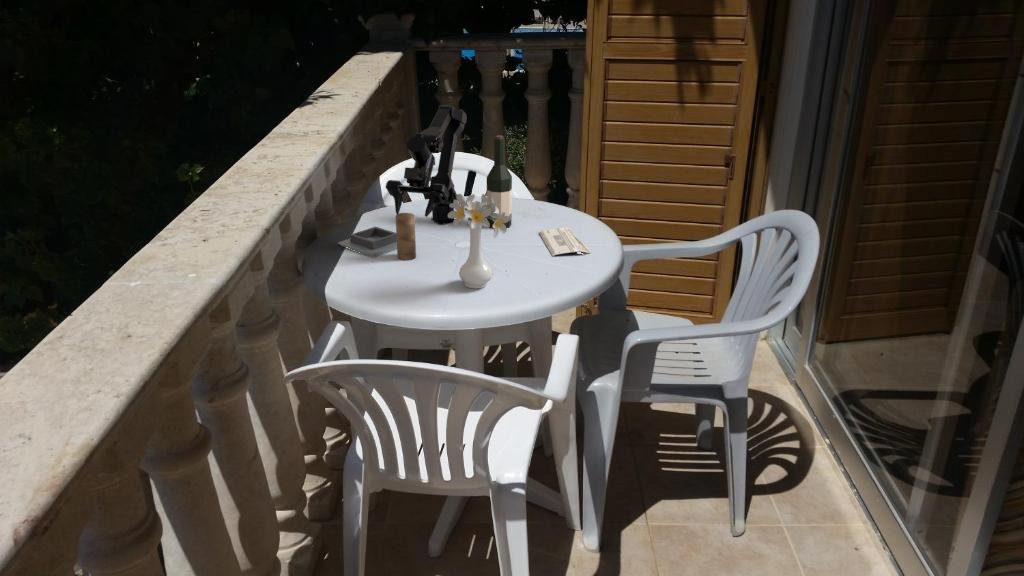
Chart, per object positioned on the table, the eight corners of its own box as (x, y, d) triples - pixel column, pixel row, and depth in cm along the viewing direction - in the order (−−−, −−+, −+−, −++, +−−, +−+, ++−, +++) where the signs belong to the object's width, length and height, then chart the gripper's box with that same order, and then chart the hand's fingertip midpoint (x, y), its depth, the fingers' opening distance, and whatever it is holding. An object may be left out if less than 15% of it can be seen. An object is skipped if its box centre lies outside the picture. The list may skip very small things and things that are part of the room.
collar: (376, 232, 263) (376, 222, 262) (411, 243, 254) (410, 233, 253) (337, 245, 252) (337, 235, 251) (372, 257, 243) (372, 246, 241)
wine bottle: (496, 219, 277) (496, 132, 266) (516, 224, 273) (517, 135, 261) (481, 225, 271) (481, 136, 259) (501, 230, 267) (502, 140, 255)
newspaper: (592, 256, 247) (591, 249, 246) (553, 262, 246) (552, 254, 245) (575, 231, 268) (574, 224, 267) (538, 237, 266) (538, 229, 265)
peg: (410, 252, 247) (408, 211, 242) (419, 257, 243) (417, 216, 238) (394, 256, 244) (392, 214, 239) (403, 261, 240) (401, 219, 235)
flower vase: (496, 299, 215) (496, 209, 205) (437, 286, 223) (435, 198, 213) (519, 283, 226) (520, 196, 216) (462, 270, 234) (461, 186, 224)
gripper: (386, 153, 244) (373, 199, 238) (445, 158, 240) (433, 204, 234) (397, 173, 254) (385, 217, 248) (454, 177, 250) (443, 222, 244)
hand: (411, 214), depth 244 cm, fingers open, 9 cm apart
